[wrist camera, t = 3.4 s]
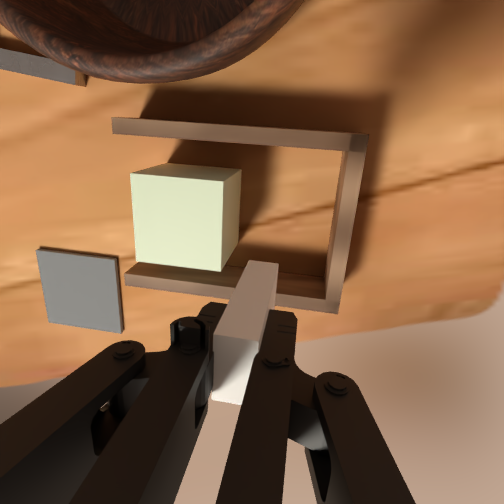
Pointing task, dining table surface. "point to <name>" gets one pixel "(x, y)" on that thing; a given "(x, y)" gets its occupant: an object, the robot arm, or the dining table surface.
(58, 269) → the slate mat
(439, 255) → the dining table surface
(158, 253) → the sage block
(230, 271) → the walnut cubby
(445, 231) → the dining table surface
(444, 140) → the dining table surface
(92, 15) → the wooden bowl
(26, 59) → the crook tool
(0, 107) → the dining table surface
